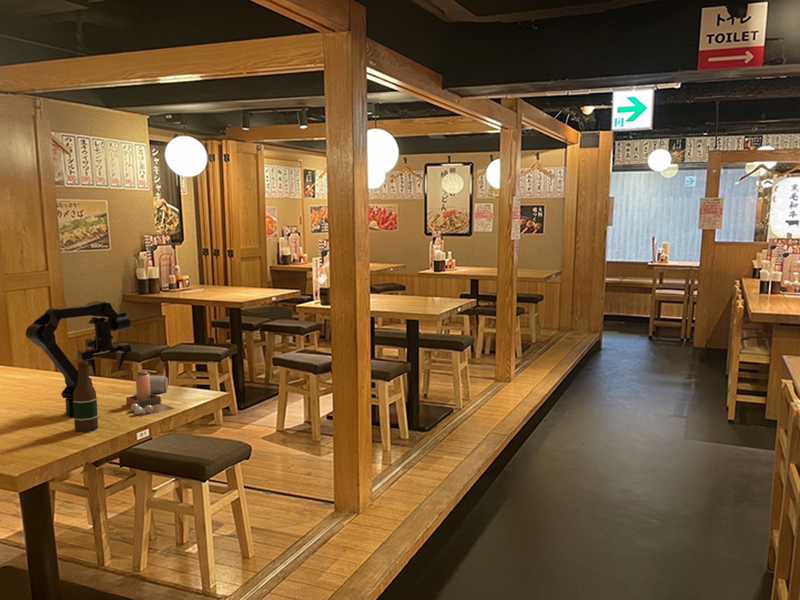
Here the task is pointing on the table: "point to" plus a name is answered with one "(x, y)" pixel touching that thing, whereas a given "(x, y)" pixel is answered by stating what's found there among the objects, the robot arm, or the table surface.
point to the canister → (143, 385)
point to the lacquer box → (144, 401)
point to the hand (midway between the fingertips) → (106, 372)
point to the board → (154, 409)
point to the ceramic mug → (158, 384)
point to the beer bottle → (84, 401)
